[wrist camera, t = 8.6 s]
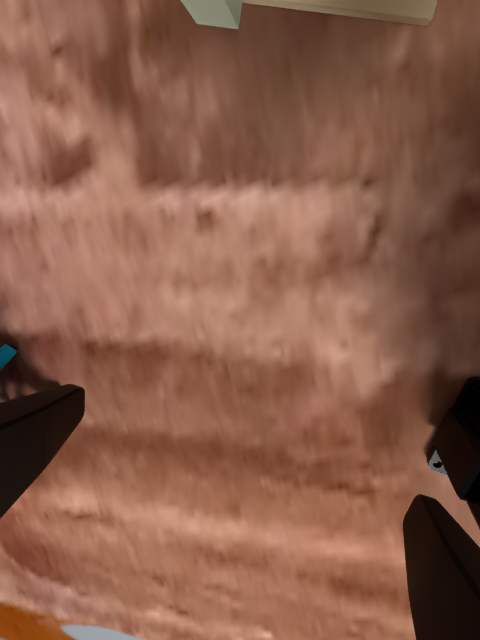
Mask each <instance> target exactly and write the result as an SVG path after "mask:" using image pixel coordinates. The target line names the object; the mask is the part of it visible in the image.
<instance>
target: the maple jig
mask: <svg viewBox="0 0 480 640" xmlns="http://www.w3.org/2000/svg"><path fill="white" fill-rule="evenodd" d="M437 2H438V0H243V3H248V4H256V5H264V6H272V7H280V8H288V9H296V10H304V11H312V12H320V13H328V14H336V15H343V16H351V17H359V18H367V19H375V20H383V21H391V22H399V23H407V24H415V25H423V26H428V25H429V23H430V22H431V20H432V18H433V14H434V11H435V8H436V5H437Z"/></svg>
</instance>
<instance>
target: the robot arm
mask: <svg viewBox="0 0 480 640" xmlns="http://www.w3.org/2000/svg"><path fill="white" fill-rule="evenodd" d="M477 384H480V377H476V376H475V377H471V378H469V379H468V380H467V381H466V383H465V385H464V387H463V389H462V391H461V393H460V395H459V396H458V398H457V400H456V402H455V404H454V406H453V407H452V408H450V409H449V410H448V412H447V414H446V416H445V418H444V420H443V422H442V424H441V426H440V428H439V430H438V432H437V434H436V436H435V438H434V439H433V447H432V449H431V451H430V453H429V455H428V457H427V463H428V465H429V467H430V468H431V469H432V470H434V471H437V472H440V473H443V474H447V475H448V477H449V479H450V481H451V483H452V486H453V488H454V490H455V492H456V494H457V496H458V497H459V498H460V499H461V500H464V501H466V502H467V504H468V506H469V508H470V510H471V512H472V514H473V516H474V518H475V520H476V522H477V524H478V526H479V529H480V387H479V388H476V389H475V388H473V387H474V386H475V385H477ZM84 411H85V390H84V388H82V387H80V386H77V385H74V384H66V385H63V386H59V387H55V388H52V389H48V390H45V391H41V392H37V393H34V394H30V395H27V396H23V397H19V398H16V399H12V400H9V401H5V402H1V403H0V518H1V517H2V516H3V515H4V514H5V513H6V512H7V511H8V509H9V508H10V507H11V506H12V505H13V504H14V503H15V502H16V501H17V499H18V498H19V497H20V496H21V495H22V494H23V493H24V492H25V490H26V489H27V488H28V487H29V486H30V485H31V484H32V483H33V482H34V480H35V479H36V478H37V477H38V476H39V475H40V474H41V473H42V471H43V470H44V469H45V468H46V467H47V465H48V464H49V463H50V462H51V460H52V459H53V458H54V456H55V455H56V454H57V452H58V451H59V450H60V448H61V447H62V446H63V444H64V443H65V441H66V440H67V439H68V437H69V436H70V435H71V433H72V432H73V431H74V429H75V428H76V427H77V425H78V424H79V423H80V421H81V420H82V418H83V415H84ZM436 461H440V462H439V463H434V462H436ZM403 535H404V547H405V560H406V572H407V584H408V593H409V601H410V607H411V613H412V618H413V624H414V629H415V635H416V640H480V547H479V546H478V545H477V544H476V543H475V542H474V541H473V540H472V538H471V537H470V536H469V535H468V534H467V533H466V532H465V531H464V530H463V528H462V527H461V526H460V525H459V524H458V523H457V522H456V521H455V519H454V518H453V517H452V516H451V515H450V514H449V513H448V512H447V511H446V509H445V508H444V507H443V506H442V505H441V504H440V503H439V502H438V501H437V500H436V499H434V498H431V497H428V496H425V495H421V494H418V495H417V496H415V498H414V500H413V501H412V503H411V505H410V507H409V509H408V511H407V513H406V515H405V517H404V520H403Z"/></svg>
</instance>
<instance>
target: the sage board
mask: <svg viewBox="0 0 480 640" xmlns="http://www.w3.org/2000/svg"><path fill="white" fill-rule="evenodd" d="M181 1H182V3H183V4H184V6H185V7H186V9H187V10H188V12H189V13H190V14H191V16H192V17H193V19H194V20H195V22H196V23H197V24H202V25H210V26H217V27H224V28H232V29H239V23H240V16H241V10H242V3H243V0H181Z"/></svg>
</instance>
